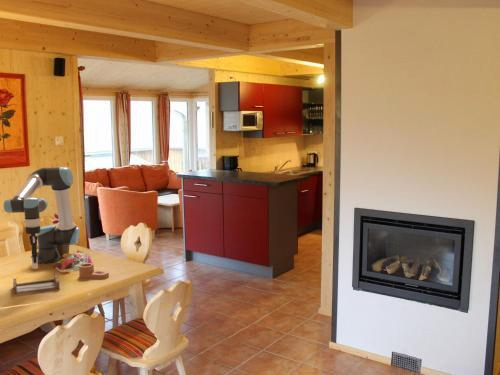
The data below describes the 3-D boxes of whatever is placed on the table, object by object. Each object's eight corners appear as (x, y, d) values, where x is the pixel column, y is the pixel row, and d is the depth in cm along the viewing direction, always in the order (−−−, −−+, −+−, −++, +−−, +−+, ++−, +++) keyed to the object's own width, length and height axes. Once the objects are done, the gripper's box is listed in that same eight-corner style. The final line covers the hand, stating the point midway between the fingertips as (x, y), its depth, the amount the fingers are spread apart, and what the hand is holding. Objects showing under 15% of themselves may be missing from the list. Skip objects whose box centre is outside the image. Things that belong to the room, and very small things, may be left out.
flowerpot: (74, 252, 356) (72, 210, 352) (68, 257, 342) (66, 214, 338) (54, 252, 355) (51, 211, 351) (47, 257, 341) (44, 214, 337)
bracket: (76, 278, 297) (76, 266, 296) (84, 273, 305) (83, 262, 304) (104, 279, 293) (104, 268, 292) (111, 275, 301) (110, 264, 300)
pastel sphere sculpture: (49, 266, 323) (48, 252, 322) (84, 259, 338) (83, 246, 337) (63, 274, 304) (62, 260, 303) (100, 267, 319) (99, 253, 318)
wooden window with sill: (13, 286, 281) (13, 278, 280) (57, 281, 290) (56, 273, 290) (13, 296, 265) (13, 287, 265) (59, 289, 275) (59, 281, 274)
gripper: (24, 223, 280) (27, 264, 282) (25, 229, 264) (28, 272, 267) (39, 222, 283) (41, 262, 286) (40, 228, 267) (43, 270, 270)
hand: (35, 267), depth 276 cm, fingers open, 5 cm apart
